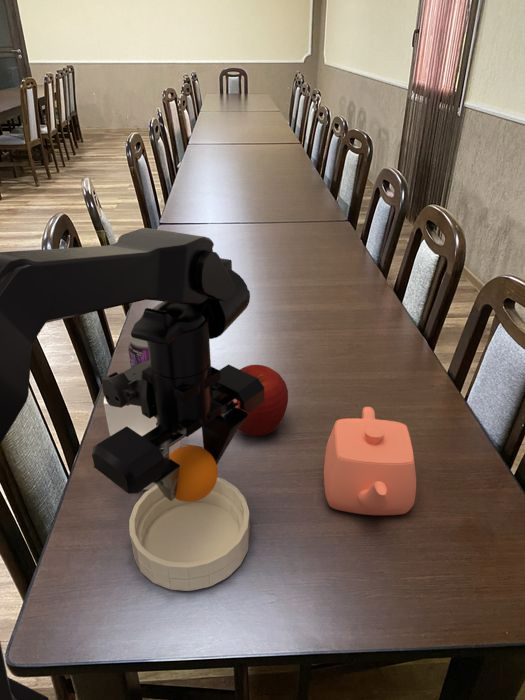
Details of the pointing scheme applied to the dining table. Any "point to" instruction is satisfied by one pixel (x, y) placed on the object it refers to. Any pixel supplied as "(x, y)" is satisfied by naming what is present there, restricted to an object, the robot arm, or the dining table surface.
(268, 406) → the apple
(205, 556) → the bowl
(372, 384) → the dining table surface
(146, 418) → the cylinder with rectangular tab
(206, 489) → the orange
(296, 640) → the dining table surface
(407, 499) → the teapot
